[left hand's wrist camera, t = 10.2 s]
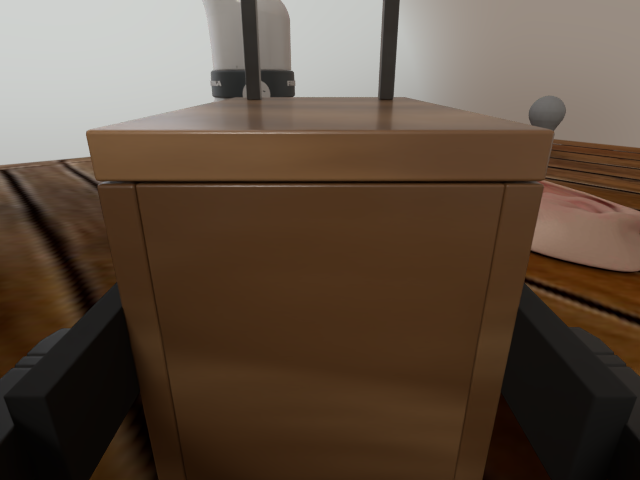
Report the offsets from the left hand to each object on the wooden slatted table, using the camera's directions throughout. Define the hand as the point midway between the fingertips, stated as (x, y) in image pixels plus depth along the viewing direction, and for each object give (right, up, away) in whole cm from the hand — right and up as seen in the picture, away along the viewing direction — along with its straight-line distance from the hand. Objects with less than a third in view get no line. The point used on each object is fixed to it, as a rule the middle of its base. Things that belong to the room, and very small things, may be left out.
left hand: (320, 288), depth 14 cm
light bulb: (+42, +19, +64) cm, 79 cm away
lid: (0, +6, +3) cm, 7 cm away
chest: (0, -4, +7) cm, 8 cm away
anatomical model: (+22, +2, +22) cm, 31 cm away
